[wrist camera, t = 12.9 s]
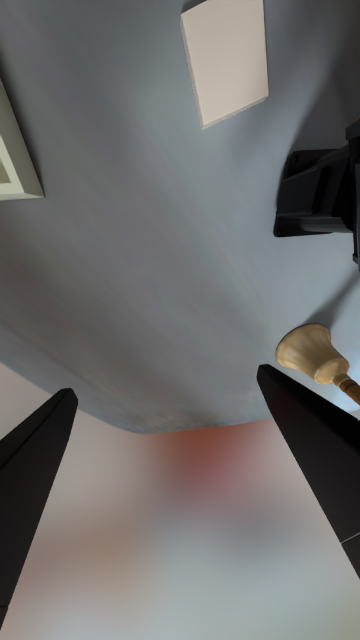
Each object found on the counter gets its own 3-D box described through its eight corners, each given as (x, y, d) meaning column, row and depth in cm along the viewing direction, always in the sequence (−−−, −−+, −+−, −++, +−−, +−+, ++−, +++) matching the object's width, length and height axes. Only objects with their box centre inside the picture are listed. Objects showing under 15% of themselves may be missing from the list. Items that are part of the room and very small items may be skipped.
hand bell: (338, 321, 24) (572, 449, 11) (316, 364, 28) (464, 496, 15) (284, 325, 24) (457, 466, 10) (269, 368, 28) (377, 511, 14)
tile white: (251, -5, 11) (261, -29, 10) (260, 105, 13) (268, 95, 12) (179, 33, 11) (181, 14, 10) (200, 133, 14) (203, 125, 13)
